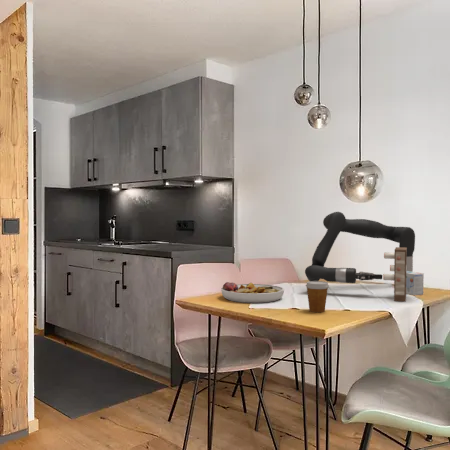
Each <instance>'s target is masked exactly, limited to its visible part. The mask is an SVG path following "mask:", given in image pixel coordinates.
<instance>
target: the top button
mask: <svg viewBox="0 0 450 450" xmlns="http://www.w3.org/2000/svg"><path fill="white" fill-rule="evenodd" d="M383 258H384V259H388V260H389V259H391V260H394V258H395V252H384V253H383Z"/></svg>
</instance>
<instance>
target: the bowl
mask: <svg viewBox="0 0 450 450" xmlns="http://www.w3.org/2000/svg"><path fill="white" fill-rule="evenodd" d="M220 291H221V295H222V297H223V298H225V299H227V300H228V301H232V302H234V303H245V304H246V303H247V304H262V303H272V302H275V301H278V300H280V299H281V298H282V297H283V296H284V291H285V289H284V287H281V286H278V285H272V284H263V283H262V284H261V283H253V282H249V283H242V284H241V283H240V284H237V283H235V282H230V281H229V282H228V281H226V282H225V283H224V284H223V285H222V287H221V290H220Z"/></svg>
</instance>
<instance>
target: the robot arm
mask: <svg viewBox="0 0 450 450" xmlns="http://www.w3.org/2000/svg"><path fill="white" fill-rule="evenodd" d="M322 224H323V226H324V228H325V229H326V233H325V235H324V236H323V237H322V239H321V240H320V242H319V243H318V245H317V246H316V248H315V251H314V253H313V256H312V258H311V259H312V260H311V265H309V266H307V267H306V268H305V270H304V273H305V277H306V278H307V280H308V282H309V281H320V280H324V281H325V282H331V283H342V284H356V282H357V280H358V281H372V280H373V281H374V280H383V274H380V273H379V274H378V273H376V274H375V273H374V272H366V271H359V272H357V269H356V268H354V267H326V266H325V264H326V262H327V259H328V257H329V256H330V252H331V250H332V247H333V246H334V244H335V242H336V240H337V238H338V236H339V234H340V232H341V233H347V234H348V233H349V234H352V235H358V236H362V237H366V238H371V239H385V240H389V241H392V242H395V243H397V244H398V247H405V248H407V271H410V272H414V271H413V270H414V268H413V267H414V266H413V265H414V259H413V257H414V252H415V249H416V248H415V245H416V233H415V230H414V229H413V228H412V227H410V226H392V225H391V226H390V225H386V224H383V223H381V222H379V221H376V220H373V219H362V218H355V219H352V218H351V219H349V218H346V216H345V214H344V213H342V212H341V211H334V212H331V213H329V214H327V215H326V216H325V217H324V218H323V221H322Z"/></svg>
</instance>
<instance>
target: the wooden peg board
mask: <svg viewBox="0 0 450 450" xmlns="http://www.w3.org/2000/svg"><path fill="white" fill-rule="evenodd" d="M394 253H395V258H394V259H393V261H394V263H393V265H394V271H393V274H394V281H393V285H394V286H393V301H394V302H404V303H405V302H406V300H407V294H406V272H407V270H406V265H407V248H405V247H399V246H397V247H395V248H394Z"/></svg>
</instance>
